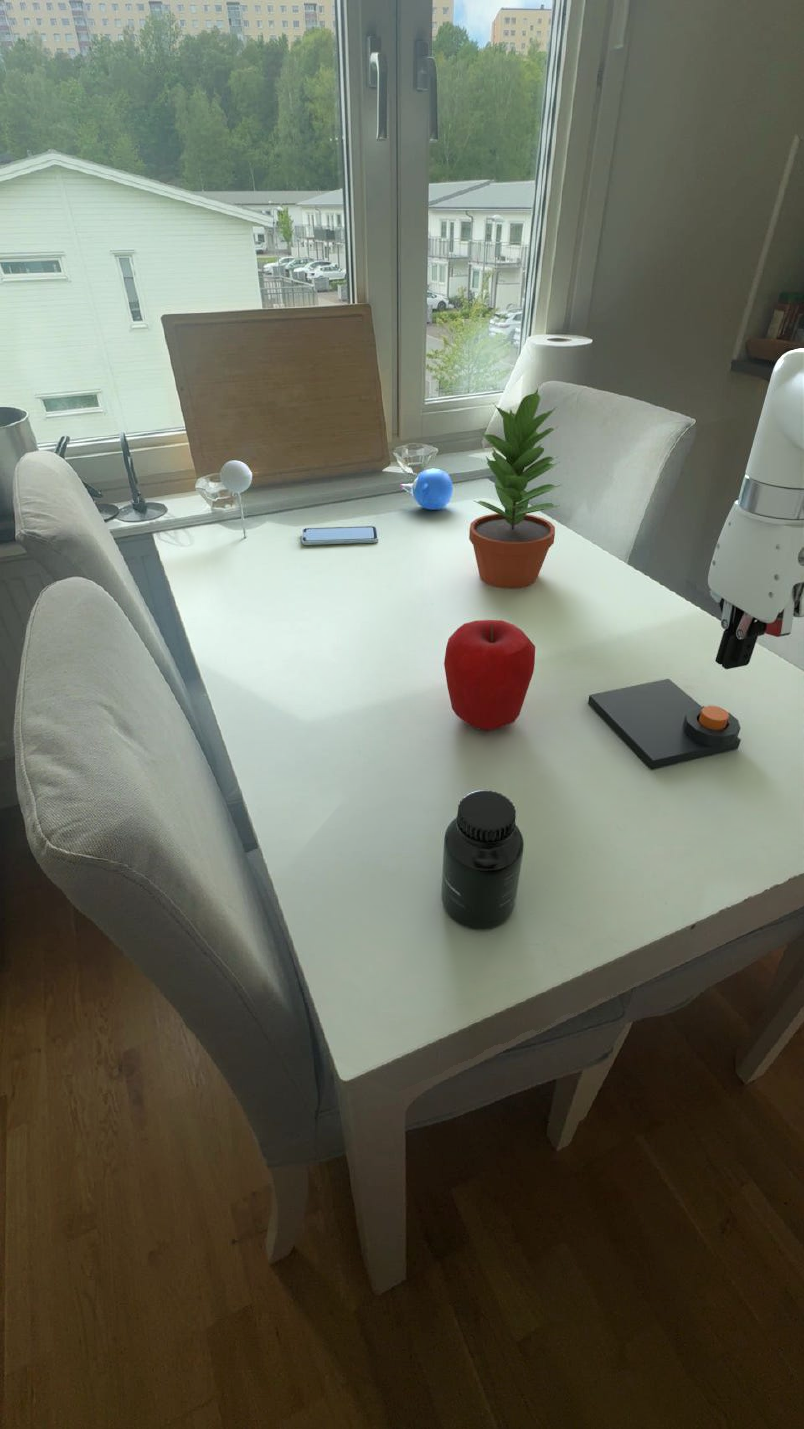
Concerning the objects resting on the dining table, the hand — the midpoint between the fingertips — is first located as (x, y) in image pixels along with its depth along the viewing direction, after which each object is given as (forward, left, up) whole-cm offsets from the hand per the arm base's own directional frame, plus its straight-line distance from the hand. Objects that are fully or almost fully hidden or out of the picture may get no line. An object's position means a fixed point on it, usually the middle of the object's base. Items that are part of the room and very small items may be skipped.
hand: (731, 663), depth 75 cm
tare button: (0, 0, -9) cm, 9 cm away
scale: (+5, +3, -11) cm, 13 cm away
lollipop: (+86, +44, -12) cm, 97 cm away
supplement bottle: (-13, +35, -12) cm, 39 cm away
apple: (+13, +23, -12) cm, 29 cm away
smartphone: (+79, +26, -11) cm, 84 cm away
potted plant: (+51, +2, -12) cm, 52 cm away
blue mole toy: (+90, +4, -12) cm, 91 cm away
